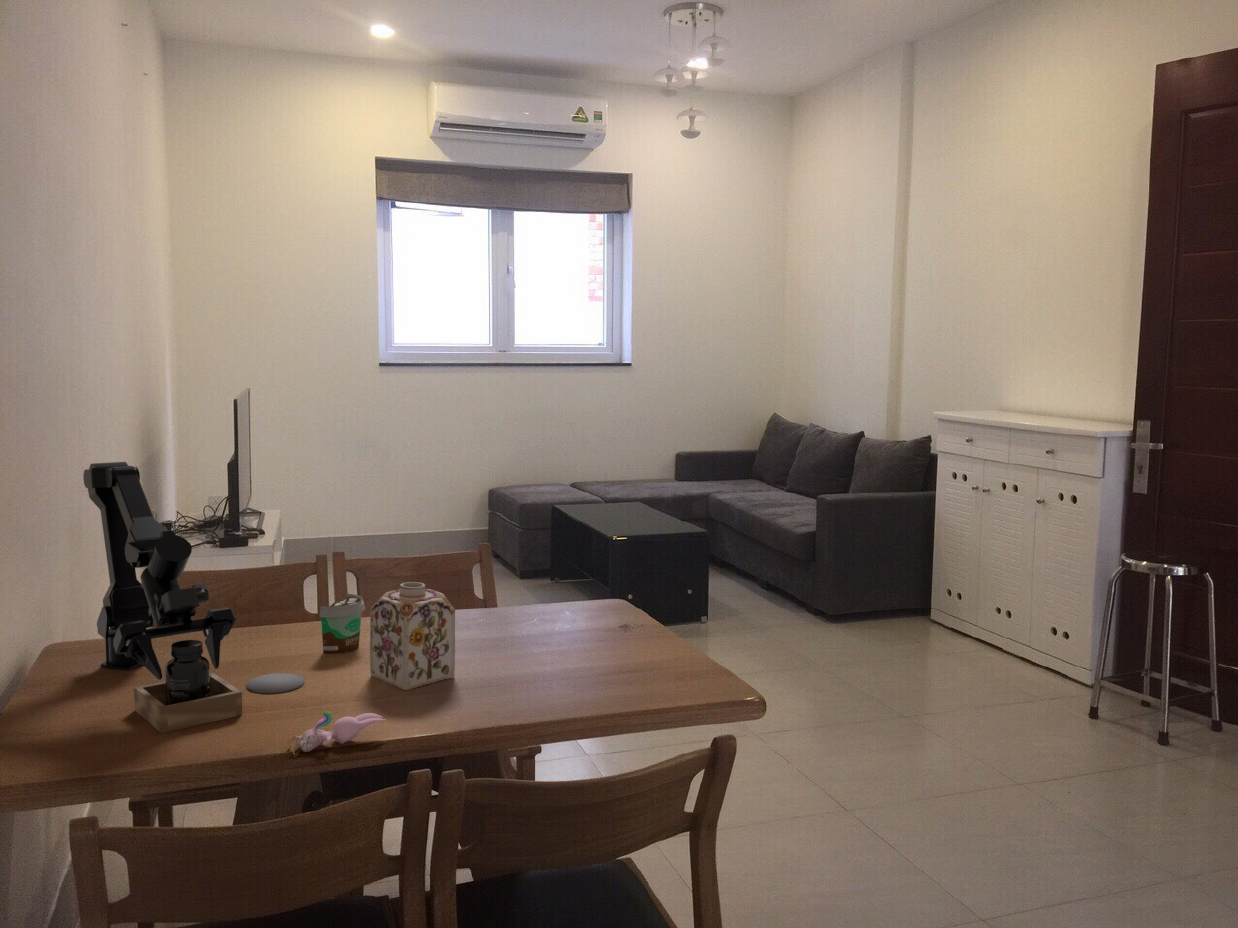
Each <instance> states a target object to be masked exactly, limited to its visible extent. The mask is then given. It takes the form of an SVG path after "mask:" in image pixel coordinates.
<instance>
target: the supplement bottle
mask: <svg viewBox="0 0 1238 928" xmlns="http://www.w3.org/2000/svg"><path fill="white" fill-rule="evenodd" d="M170 647H171V652H170V656H171V657H172V658H170V659H169V660H168V661H167V662H166V665H165V668H164V669H165V670H164V671H165V673H164V674H165V675H164V677H165V681H166V706H167V705H172V704H177V703H182V702H186V701H191V700H196V699H201V698H205V697H210V674H209V673H210V662H209V660H208V658H207V657H205V656H203V655H202V654H203V653H204V649H203V641H202V640H198V639H185V640H184V639H183V640H178V641H175V642H173V643H171V646H170Z"/></svg>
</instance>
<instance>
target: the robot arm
mask: <svg viewBox="0 0 1238 928" xmlns="http://www.w3.org/2000/svg"><path fill="white" fill-rule="evenodd" d="M140 474H141V473H140V470H139V468H138V466H133V465H128V463H127V462H126V461H114V462H113V461H111V462H97V463H95V462H94V463H90V465H89V468H87V469H84V471H83V477H82V478H83V484H84V487H85V488H86V489H87V492H88V498H89V499H90V500H91V501H92V502H93V504H94V505H95V506H96V507H97V508H98V509H99V510H100V517H101V524H102V532H103V539H104V547H105V553H106V554H105V555H106V561H107V563H106V564H107V571H108V575H109V576H108V577H109V586H108V588H107V591H106V592H105V594H104V596H103V599H102V603H103V604H102V607H101V610H100V612H99V615H98V618H97V621H96V627H97V635H99V636H101V637H102V638H103V639H105V662H102V663H100V666H99V667H100V668H107V669H116V670H118V669H119V670H125V671H126V670H131V669H132V670H133V669H134V668H136V667H139V666H141V665H142V666H144V668H145V669H147V670H148V671H149V672H150V673H151V674H152V675H153V676H154V677H155V678H156V679H157V680H158V681H159V680H160V681H161V680H162V678H163V672H162V669H161V665H160V662H159V660H158V658H157V655H156V653H155V649H154V647H153V641H152V639H159V638H165V637H166V638H167V637H172V636H177V635H183V634H189V633H197V632H201V631H202V633H203V637H205V640H204V644H205V647H206V649H207V652H208V656H209V658H210V661H211V664H212V666H213V667H214V669H215V670H218V668H219V667H220V659H221V658H220V657H221V652H220V651H221V644H222V643H221V642H222V640H223V639H224V638H225V637H226V636H228V635H229V634H230V632H231V630H232V628H233V626H234V624H235V622H236V620H237V617H236V614H235V610H233V609H232V608H231V607H221V608H213V609H208V611H207V613H206V615H205V617H204V618H200V619H195V620H194V619H192V617H194V616H195V615H196V613H197V611H196V608H197V607H200V604H202V603H206V602H207V601H208V600H209V598H210V594H209V589H208V587H207V585H206V582H199V583H198V582H197V583H194V584H193V585H192V586H191V587H187V588H182V586H181V582H180V580H179V577H181V576H182V575H183V573H184V571H185V568H186V566H187V564H188V562H189V559H190V556H191V554H192V550H193V549H192V547H193V546H192V544H191V543H190V541H188V540H187V539H186V538H184V537H183V536H182V535H181V536H180V535H177V534H175V530H174V529H169V530H168V528H167V527H166V526H165V525H163V524H162V523H159V522H158V521H156V519H155V517H154V515H153V512H152V510H151V507H150V505H149V502H148V499H147V497H146V495H145V492H144V489H143V486H142V484H141V479H140V478H141V475H140ZM139 568H145V569H144V570H143V571H142V573H141V575H140V577H139V578H140V580H138V578H137V572H136V569H139ZM140 581H141V582H140ZM153 625H154V626H153Z"/></svg>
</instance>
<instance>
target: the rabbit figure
mask: <svg viewBox="0 0 1238 928" xmlns="http://www.w3.org/2000/svg"><path fill="white" fill-rule="evenodd" d="M321 715H322V716H324V717H322V718H321V719H320V720H318V721H317V722H316V723H315V725H314V726H313V728H311V729H308V730H306V731H304V732H303V733H302V734H301V735H298V736H297V735H292V737H291V738H290V739H289V738H288V737H287V738H286V739H287V741H286V742H287V747H289V749H291V752H293V753H292V755H295V748H296V746H298V747H299V748H300V750H301V751H302V752H303V753H309V752H311V751H312V750H315V749H316V748H317V747H319V745H323V746H326V745H327V744H329V742H331V740H332V739H334V741H335V742H336V743H339V744H341V745H344V744H345V743H347V742H349V741H351V740H353V739H355V738H356V737H357V736H358V734H359V733H360V731H363V729H366V728H367V727H369V726H370V725H373V724H375V723H377V722H378V723H379V722H386V719H385V718H384V717H383V716H382V715H379V714H377V713H372V712H367V713H366V712H365V713H361V714H359V715H357V716H355V717H353V716H343V717H340V718H338V719H337V720H336V721H335V722H334V724H333V726H332V730H331V731H326V730H324V729H323V730H322V729H319V728H322V727H327V726H328V725H329V724H330V723H331V722H332V720H333V719H332V718H333V716H332V714H331V712H330V711H323V712H322V713H321ZM383 718H384V719H383ZM292 741H295V742H296V743H295V744H293V743H292Z"/></svg>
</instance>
